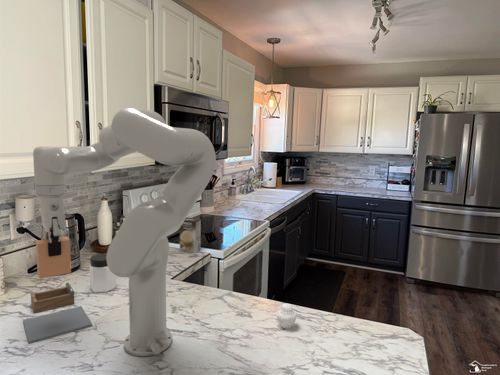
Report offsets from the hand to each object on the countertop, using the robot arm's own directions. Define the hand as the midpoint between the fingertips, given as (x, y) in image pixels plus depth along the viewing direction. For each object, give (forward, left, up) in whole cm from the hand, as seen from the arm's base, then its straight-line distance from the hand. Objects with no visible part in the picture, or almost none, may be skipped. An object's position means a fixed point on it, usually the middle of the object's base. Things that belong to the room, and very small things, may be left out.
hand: (53, 252), depth 102 cm
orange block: (0, 0, -6) cm, 6 cm away
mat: (0, 0, -22) cm, 22 cm away
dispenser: (+15, -1, -22) cm, 26 cm away
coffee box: (+42, -66, -22) cm, 81 cm away
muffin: (-40, -55, -22) cm, 72 cm away
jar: (+19, -18, -22) cm, 34 cm away
